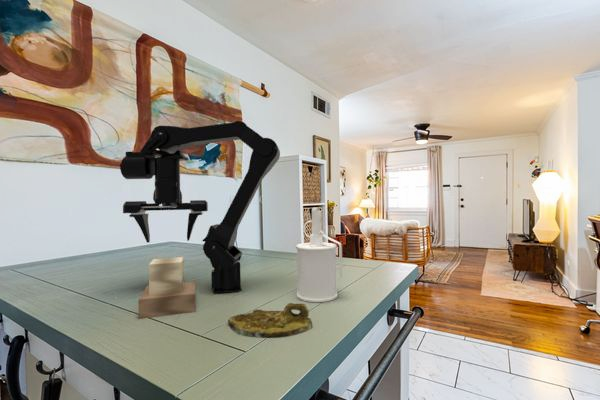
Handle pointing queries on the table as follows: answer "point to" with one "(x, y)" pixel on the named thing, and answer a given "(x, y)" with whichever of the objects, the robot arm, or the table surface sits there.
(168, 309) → the walnut block
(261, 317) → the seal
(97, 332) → the table surface
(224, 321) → the table surface
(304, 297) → the white cylinder with spout
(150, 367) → the table surface
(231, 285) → the robot arm
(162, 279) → the maple cube
